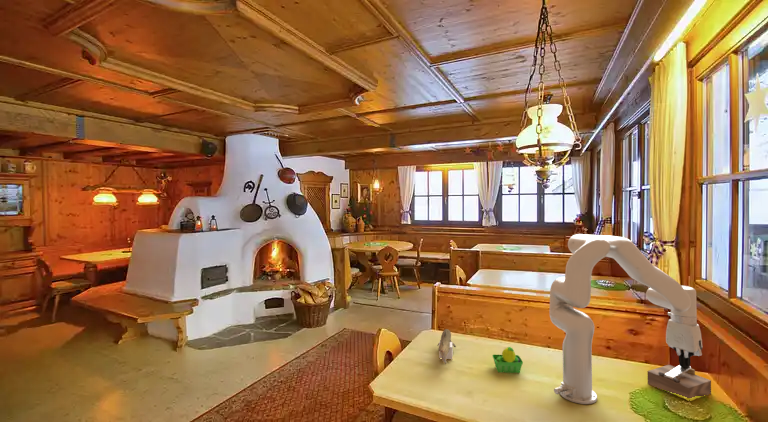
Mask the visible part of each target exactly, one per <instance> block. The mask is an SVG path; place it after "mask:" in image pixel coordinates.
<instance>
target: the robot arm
mask: <svg viewBox="0 0 768 422" xmlns="http://www.w3.org/2000/svg"><path fill="white" fill-rule="evenodd" d="M567 247H568V251H570V252H571V253H572V254H571V256H570V257H569V258H568V260H567V262H566V265H565V275H564V276H561V277H557V278H555V280H553V282H552V283H551V285H550V288H549V289H550V290H549V318H550V321H551V323H552V324H553V325H554V326H555V327H556V328H558V329H560V330H561V331H563V332H564V333H565V337H564V338H563V342H562V381H561V383H560V386H558V387H555V388H553V392H554V393H555V395H560V396H561V397H562V398H564V399H565V400H567V401H570V402H572V403H576V404H581V405H591V404H595V403H596V402H597V401H598V395H597V393H596V392H595V391H594V390H593V361H592V360H593V356H592V354H593V353H592V352H593V351H592V345H593V338H594V334H595V323H594V321H593V320H592V318H591V317H590V316H589V315H588V314H587V313H585V312H583V311H581V310H579V309H584V308H586V307H588V306H589V305H590V302H591V297H592V296H591V295H592V294H591V293H592V275H593V270H594V267H595V266H596V265H597V263H598V262H600V261H601V260H602V259H604V258H605V257H606V258H611V259H613V260H615V261H616V263H617V264H619V266H620V268H622V269H623V270H624V271H625V273H627V275H628V276H629V277H630V278H631V279H633V280H635V281H636V282H637V283H640V284H642V285H644V286H646V287H648V289H647V290H646V292H645V296H646V299H647V300H648V301H649V302H650V303H652V304H653V305H656V306H658V307H662V308H665V309H669V310H670V312H669V311H668V312H667V315H668V316H669V317H670V318H669V319H668V321H667V324H666V330H665V342H666V344H667V346H668V347H670V348H672V349H673V350H674V351H675V352H676V354H677V356H678V363H679V365H680V366H681V367H684V368H686V367H688V366H690V367H691V357H693V356H698V357H700V356H702V355H703V353H702V350H703V339H702V331H701V328H700V325H699V324H698V322H697V321H698V316H697V310H698V309H697V290H696V289H695V288H694V287H691V286H689V285H681V284H680V283H679V282H678V281H677V280H676V279H674V278H673V277H671V276H670V275H669V274H667V273H665V272H664V271H663V270H662V269H660V268H658V267H657V266H655V265H654V264H653V263H651V262H650V260H648V258H647V257H646V256H645V254H643V253H642V252H641V250H640V249H639V248H638V247H637V246H636V244H634V243H633V241H632V240H630V239H629V238H627V237H623V236H617V235H616V236H615V235H610V234H609V235H606V234H605V235H603V234H602V235H601V234H588V233H587V234H586V233H584V234H583V233H576V234H573V235H572V236H570V238H569V239H568V241H567Z"/></svg>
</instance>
